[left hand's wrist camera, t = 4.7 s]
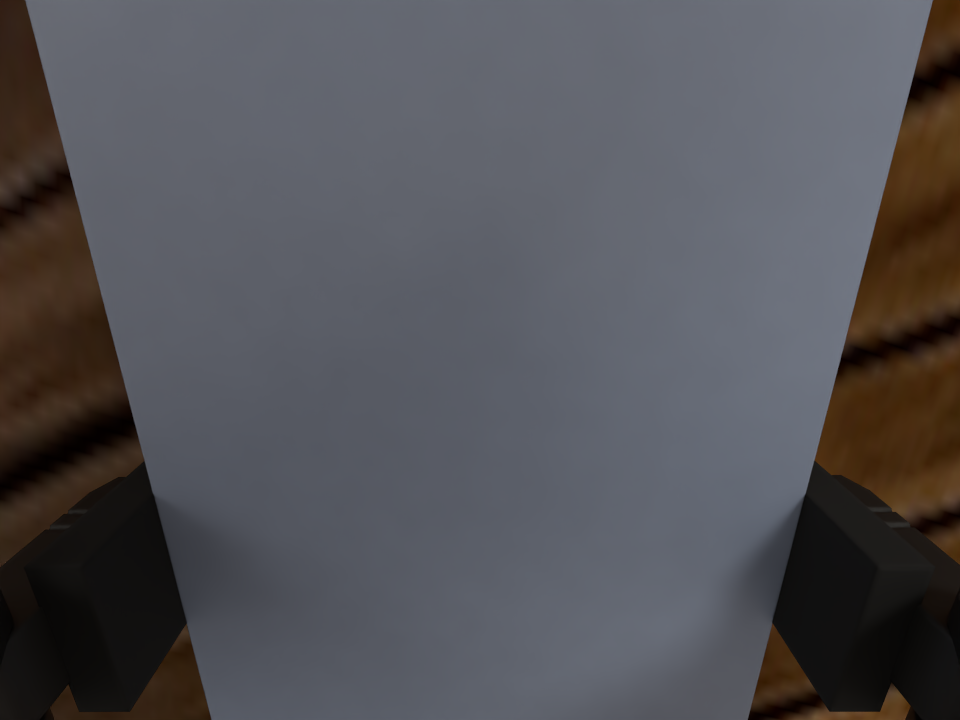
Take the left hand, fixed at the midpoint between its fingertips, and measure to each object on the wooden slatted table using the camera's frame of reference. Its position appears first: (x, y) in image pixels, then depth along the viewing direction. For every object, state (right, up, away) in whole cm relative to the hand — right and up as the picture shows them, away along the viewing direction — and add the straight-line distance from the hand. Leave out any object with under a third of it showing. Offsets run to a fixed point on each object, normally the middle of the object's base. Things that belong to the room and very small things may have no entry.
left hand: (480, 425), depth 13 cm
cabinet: (0, +6, +4) cm, 8 cm away
